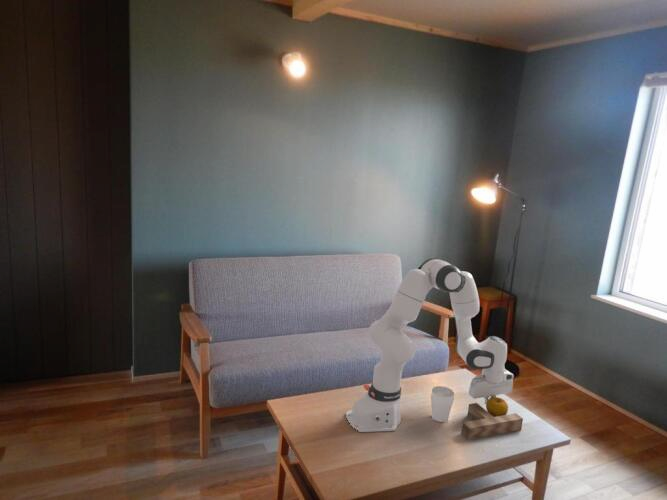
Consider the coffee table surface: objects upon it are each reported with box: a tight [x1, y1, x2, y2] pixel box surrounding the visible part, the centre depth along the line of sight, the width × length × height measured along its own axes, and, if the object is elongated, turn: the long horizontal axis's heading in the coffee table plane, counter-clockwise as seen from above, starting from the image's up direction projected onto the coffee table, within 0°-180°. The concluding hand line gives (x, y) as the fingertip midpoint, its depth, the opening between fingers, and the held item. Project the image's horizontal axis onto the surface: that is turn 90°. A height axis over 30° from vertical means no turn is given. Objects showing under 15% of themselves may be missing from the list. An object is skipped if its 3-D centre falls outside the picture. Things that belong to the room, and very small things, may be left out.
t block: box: [460, 402, 524, 441], centre depth 186 cm, size 26×15×5 cm, turn 110°
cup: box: [430, 385, 455, 423], centre depth 188 cm, size 9×9×12 cm
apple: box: [485, 396, 509, 417], centre depth 191 cm, size 9×8×9 cm
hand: (488, 403), depth 195 cm, fingers closed, pressing on apple
